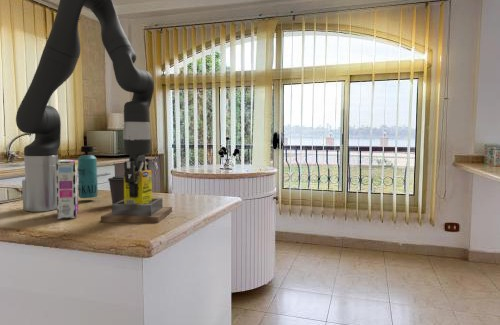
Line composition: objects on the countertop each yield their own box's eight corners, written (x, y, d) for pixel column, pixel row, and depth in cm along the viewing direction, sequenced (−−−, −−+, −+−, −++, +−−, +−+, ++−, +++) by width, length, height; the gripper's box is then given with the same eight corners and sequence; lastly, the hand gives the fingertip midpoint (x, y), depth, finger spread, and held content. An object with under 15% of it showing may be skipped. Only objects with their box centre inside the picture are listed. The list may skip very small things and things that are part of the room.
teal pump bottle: (85, 198, 129) (83, 145, 128) (102, 199, 128) (100, 145, 127) (74, 202, 123) (72, 146, 121) (91, 202, 122) (90, 146, 120)
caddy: (100, 221, 95) (100, 205, 94) (121, 210, 109) (121, 196, 108) (158, 222, 94) (158, 206, 94) (171, 211, 108) (171, 197, 108)
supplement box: (142, 210, 98) (142, 172, 97) (123, 209, 99) (122, 171, 98) (152, 206, 104) (152, 170, 103) (134, 205, 105) (133, 169, 104)
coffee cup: (133, 202, 123) (133, 174, 122) (133, 206, 115) (132, 177, 115) (109, 203, 120) (108, 175, 120) (107, 208, 113) (106, 177, 112)
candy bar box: (77, 218, 98) (75, 161, 97) (57, 220, 96) (55, 161, 95) (79, 211, 108) (77, 158, 107) (61, 212, 106) (59, 159, 105)
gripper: (133, 138, 107) (134, 191, 108) (113, 138, 93) (115, 199, 94) (157, 138, 107) (158, 191, 108) (141, 138, 92) (142, 199, 94)
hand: (138, 195), depth 101 cm, fingers closed on supplement box, 6 cm apart
